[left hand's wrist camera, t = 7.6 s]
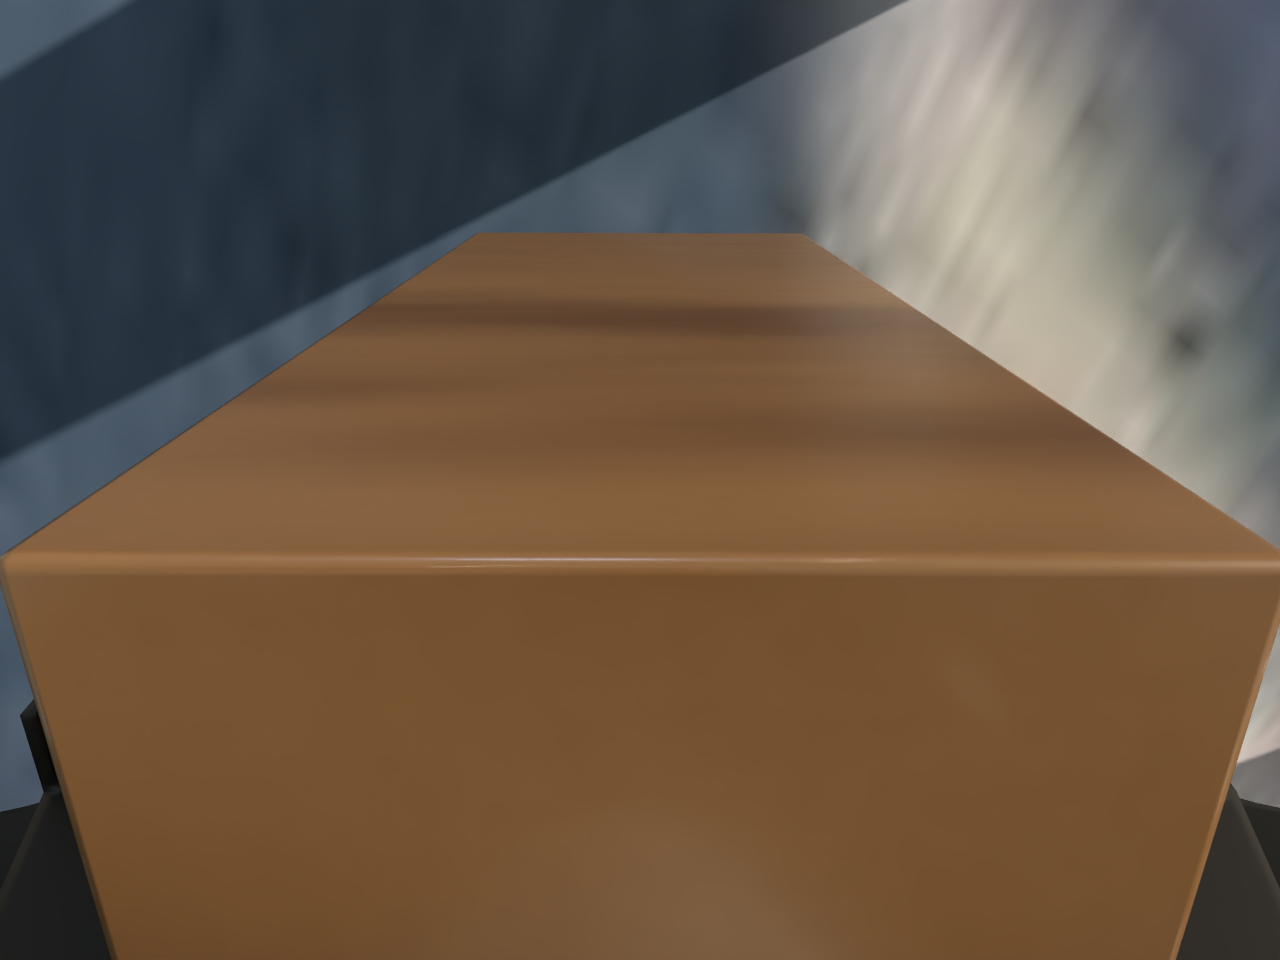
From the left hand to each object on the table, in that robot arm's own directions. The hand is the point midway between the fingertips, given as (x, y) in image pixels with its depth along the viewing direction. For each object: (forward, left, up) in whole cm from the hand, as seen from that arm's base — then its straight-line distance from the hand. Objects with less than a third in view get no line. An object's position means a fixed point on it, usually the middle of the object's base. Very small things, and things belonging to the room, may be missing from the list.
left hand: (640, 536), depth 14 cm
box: (+7, +2, -3) cm, 8 cm away
